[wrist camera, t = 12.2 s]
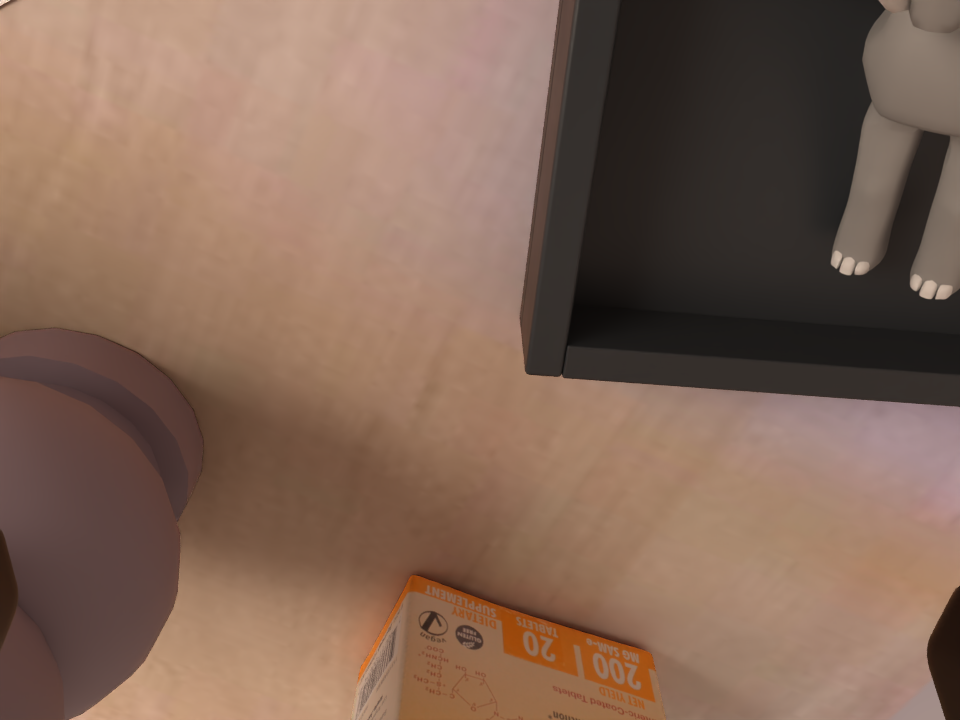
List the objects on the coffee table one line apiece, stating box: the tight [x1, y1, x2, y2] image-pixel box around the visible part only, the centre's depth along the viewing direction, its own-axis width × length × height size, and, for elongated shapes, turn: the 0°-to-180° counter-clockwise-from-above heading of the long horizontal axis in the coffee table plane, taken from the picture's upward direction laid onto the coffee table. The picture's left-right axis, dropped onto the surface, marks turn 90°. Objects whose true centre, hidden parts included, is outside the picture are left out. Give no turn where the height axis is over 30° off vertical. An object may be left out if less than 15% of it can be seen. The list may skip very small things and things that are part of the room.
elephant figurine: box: [831, 0, 960, 299], centre depth 14 cm, size 10×6×9 cm
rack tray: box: [520, 0, 960, 407], centre depth 15 cm, size 14×15×3 cm
